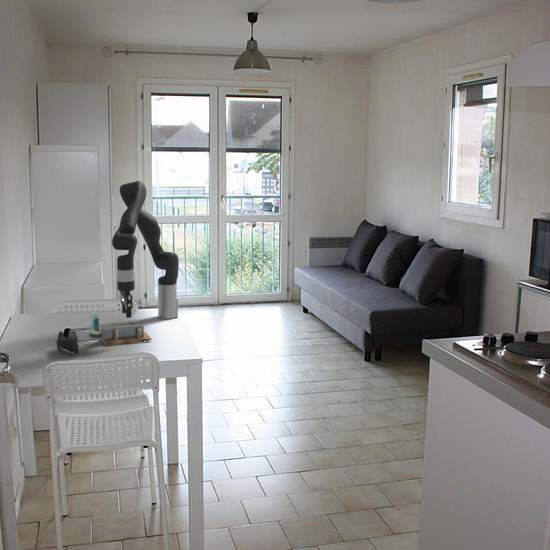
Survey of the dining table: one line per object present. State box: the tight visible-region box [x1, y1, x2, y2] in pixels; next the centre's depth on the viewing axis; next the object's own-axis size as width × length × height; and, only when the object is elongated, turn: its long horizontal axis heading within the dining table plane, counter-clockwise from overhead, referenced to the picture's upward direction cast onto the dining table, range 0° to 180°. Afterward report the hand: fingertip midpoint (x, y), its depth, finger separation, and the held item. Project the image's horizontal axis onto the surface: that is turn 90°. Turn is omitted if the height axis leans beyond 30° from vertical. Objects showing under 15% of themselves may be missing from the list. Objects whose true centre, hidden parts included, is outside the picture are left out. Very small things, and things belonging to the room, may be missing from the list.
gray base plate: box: [77, 334, 101, 342], centre depth 322 cm, size 15×18×1 cm
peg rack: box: [100, 329, 152, 347], centre depth 313 cm, size 20×11×6 cm, turn 113°
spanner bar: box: [100, 323, 145, 342], centre depth 312 cm, size 18×6×5 cm, turn 113°
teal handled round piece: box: [89, 314, 101, 336], centre depth 324 cm, size 8×14×6 cm, turn 23°
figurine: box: [56, 330, 80, 358], centre depth 294 cm, size 8×10×15 cm
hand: (126, 315), depth 312 cm, fingers open, 8 cm apart
